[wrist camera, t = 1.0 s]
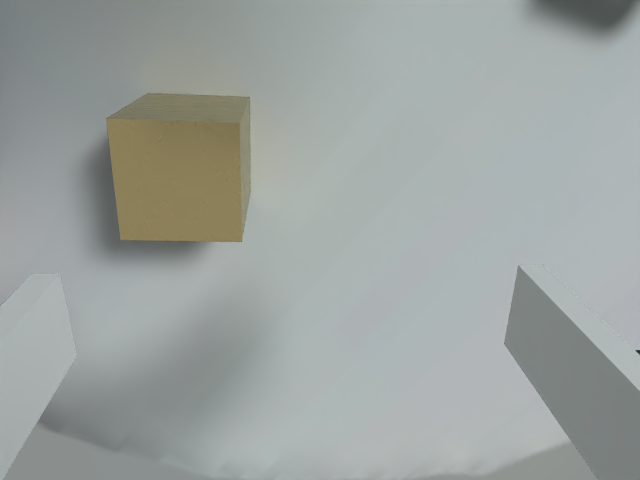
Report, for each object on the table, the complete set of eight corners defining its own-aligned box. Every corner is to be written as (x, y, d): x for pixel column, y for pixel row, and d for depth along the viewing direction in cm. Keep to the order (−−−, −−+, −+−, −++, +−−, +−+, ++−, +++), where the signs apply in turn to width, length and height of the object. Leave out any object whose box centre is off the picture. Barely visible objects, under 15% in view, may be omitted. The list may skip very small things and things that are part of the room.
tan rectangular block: (147, 93, 31) (106, 118, 24) (249, 97, 31) (239, 123, 24) (155, 189, 33) (120, 240, 26) (250, 192, 34) (241, 241, 26)
